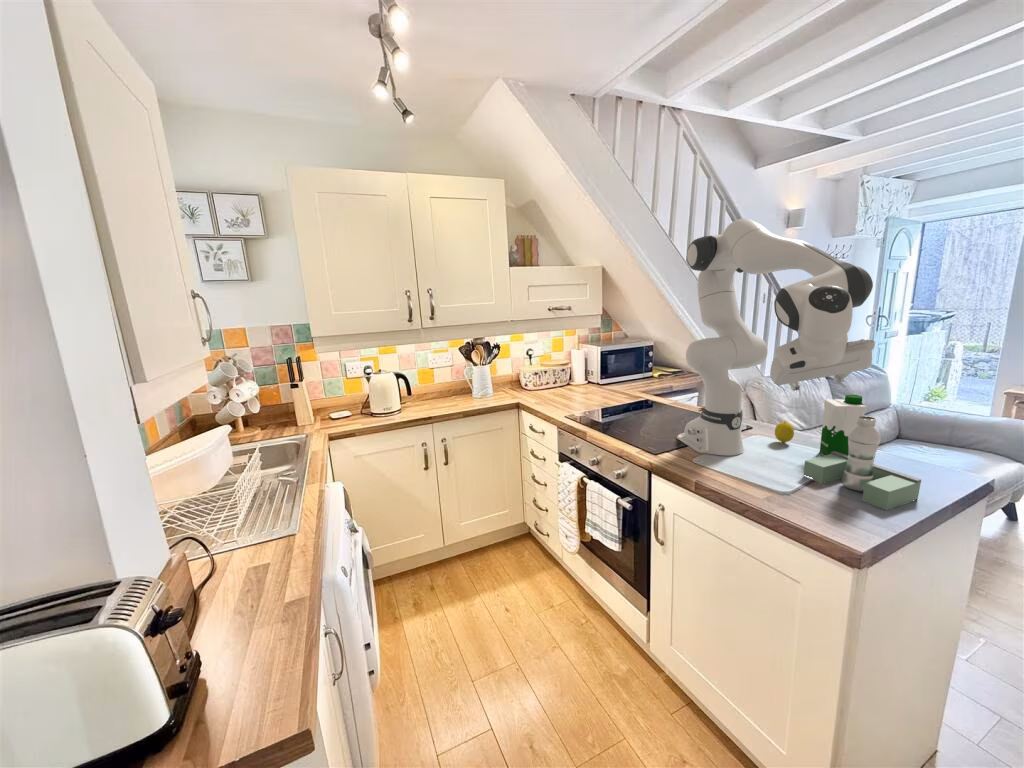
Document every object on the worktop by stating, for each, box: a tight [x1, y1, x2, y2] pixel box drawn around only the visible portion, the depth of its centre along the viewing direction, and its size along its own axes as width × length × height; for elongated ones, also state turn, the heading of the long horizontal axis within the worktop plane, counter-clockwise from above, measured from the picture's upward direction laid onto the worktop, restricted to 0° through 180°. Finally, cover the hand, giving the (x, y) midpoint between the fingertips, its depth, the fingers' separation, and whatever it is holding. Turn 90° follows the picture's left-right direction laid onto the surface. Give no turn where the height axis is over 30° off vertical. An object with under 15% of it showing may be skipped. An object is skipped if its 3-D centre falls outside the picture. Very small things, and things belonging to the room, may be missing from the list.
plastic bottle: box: [841, 415, 881, 492], centre depth 103 cm, size 6×7×20 cm
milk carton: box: [819, 394, 868, 456], centre depth 122 cm, size 9×9×20 cm
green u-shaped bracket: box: [803, 451, 922, 511], centre depth 105 cm, size 20×12×6 cm, turn 18°
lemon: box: [774, 420, 795, 444], centre depth 137 cm, size 6×6×8 cm
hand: (816, 384), depth 102 cm, fingers open, 8 cm apart
